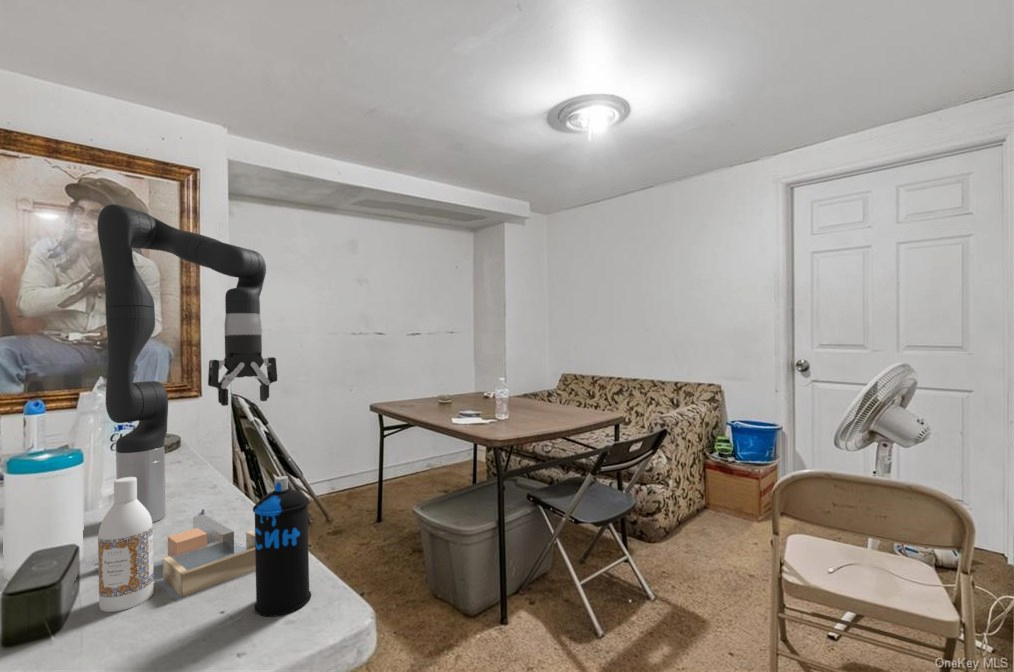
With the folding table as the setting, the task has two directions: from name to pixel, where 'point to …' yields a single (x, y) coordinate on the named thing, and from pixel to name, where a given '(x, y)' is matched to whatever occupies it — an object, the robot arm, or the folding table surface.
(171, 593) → the mat
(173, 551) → the block
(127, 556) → the bath foam
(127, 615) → the folding table surface
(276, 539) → the aerosol can
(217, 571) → the stall
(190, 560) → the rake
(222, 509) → the folding table surface
